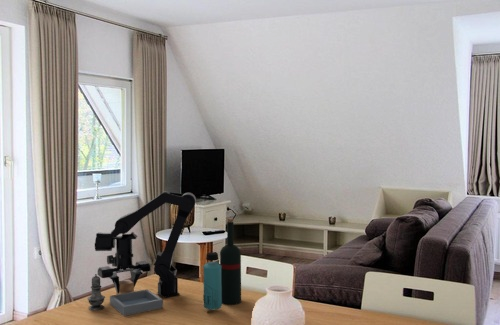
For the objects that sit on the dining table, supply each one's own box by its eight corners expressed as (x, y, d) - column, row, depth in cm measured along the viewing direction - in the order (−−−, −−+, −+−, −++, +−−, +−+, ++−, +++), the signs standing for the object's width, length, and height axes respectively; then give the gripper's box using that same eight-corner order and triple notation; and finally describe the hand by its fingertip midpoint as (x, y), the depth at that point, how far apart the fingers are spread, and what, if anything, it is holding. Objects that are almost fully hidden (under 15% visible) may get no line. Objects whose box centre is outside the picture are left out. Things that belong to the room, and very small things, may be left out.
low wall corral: (147, 297, 194) (147, 289, 194) (162, 308, 183) (162, 299, 183) (110, 304, 187) (109, 295, 187) (123, 315, 175) (123, 306, 175)
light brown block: (129, 292, 201) (128, 279, 200) (133, 295, 196) (133, 282, 196) (116, 294, 198) (116, 281, 197) (120, 298, 194) (120, 284, 193)
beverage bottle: (225, 308, 182) (225, 251, 181) (217, 315, 176) (217, 255, 174) (207, 306, 184) (207, 250, 183) (199, 313, 178) (199, 254, 177)
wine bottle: (244, 296, 195) (244, 216, 193) (239, 305, 185) (238, 220, 183) (223, 295, 197) (223, 215, 195) (217, 304, 187) (216, 220, 185)
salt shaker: (100, 311, 180) (99, 276, 179) (84, 310, 181) (83, 275, 180) (108, 305, 185) (107, 271, 185) (92, 304, 187) (92, 271, 186)
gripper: (140, 243, 208) (140, 282, 209) (92, 249, 198) (93, 290, 199) (151, 249, 199) (151, 289, 200) (102, 255, 188) (102, 298, 189)
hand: (124, 291), depth 197 cm, fingers closed on light brown block, 5 cm apart
